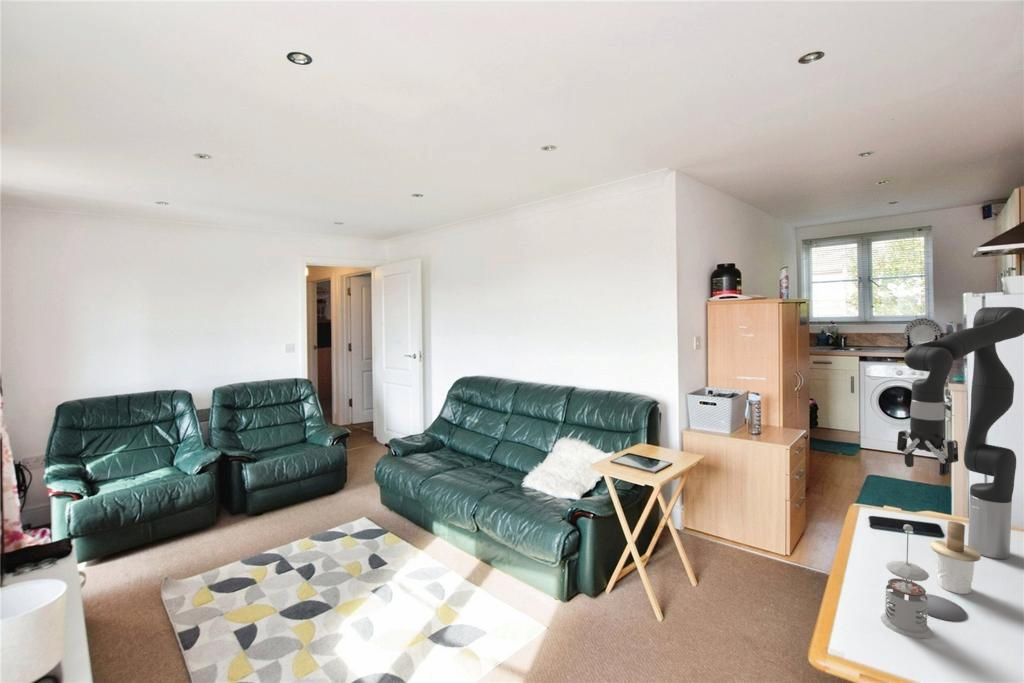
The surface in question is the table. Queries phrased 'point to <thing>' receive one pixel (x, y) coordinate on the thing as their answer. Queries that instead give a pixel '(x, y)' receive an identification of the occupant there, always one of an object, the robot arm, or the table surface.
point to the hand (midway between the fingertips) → (926, 470)
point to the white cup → (954, 574)
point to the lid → (956, 544)
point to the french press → (906, 612)
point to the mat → (944, 608)
